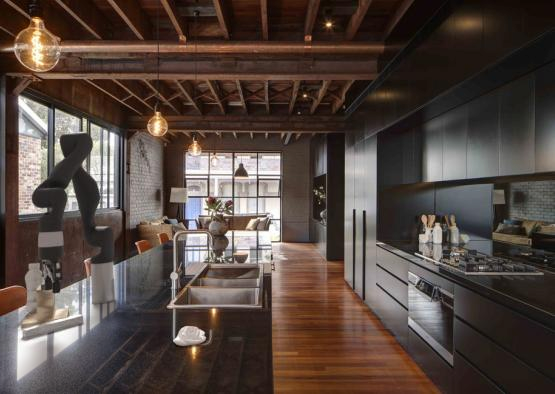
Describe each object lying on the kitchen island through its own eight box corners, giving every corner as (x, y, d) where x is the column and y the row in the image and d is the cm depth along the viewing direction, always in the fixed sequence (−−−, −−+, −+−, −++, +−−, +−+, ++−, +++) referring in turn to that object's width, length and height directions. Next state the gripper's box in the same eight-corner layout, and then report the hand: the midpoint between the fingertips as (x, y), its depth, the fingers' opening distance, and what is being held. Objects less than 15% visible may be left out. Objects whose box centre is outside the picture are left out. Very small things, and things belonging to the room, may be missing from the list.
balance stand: (68, 311, 148) (67, 276, 148) (67, 321, 135) (65, 282, 135) (27, 318, 141) (26, 280, 141) (21, 328, 129) (20, 287, 129)
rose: (190, 319, 118) (212, 323, 113) (190, 333, 118) (213, 338, 113) (165, 329, 109) (188, 334, 104) (166, 344, 109) (189, 350, 104)
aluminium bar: (79, 322, 135) (79, 314, 135) (83, 323, 133) (82, 315, 133) (22, 337, 120) (22, 328, 120) (25, 339, 119) (25, 330, 119)
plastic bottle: (36, 315, 145) (34, 265, 145) (21, 315, 146) (20, 265, 146) (49, 310, 151) (47, 262, 151) (35, 310, 152) (33, 262, 152)
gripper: (70, 244, 125) (71, 292, 125) (56, 243, 135) (57, 287, 134) (44, 247, 119) (46, 296, 119) (32, 245, 129) (34, 291, 129)
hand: (52, 291), depth 127 cm, fingers open, 8 cm apart
